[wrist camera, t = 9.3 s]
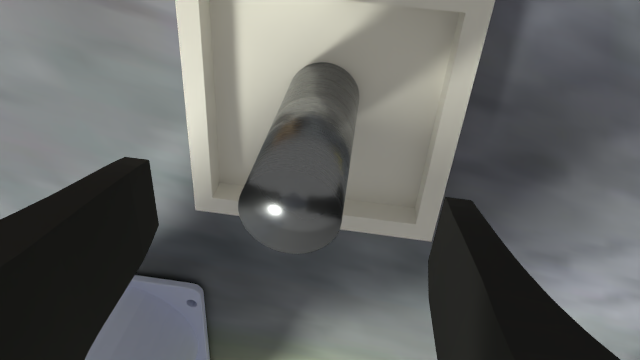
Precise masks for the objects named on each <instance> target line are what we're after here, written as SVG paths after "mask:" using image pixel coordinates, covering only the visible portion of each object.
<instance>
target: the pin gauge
mask: <svg viewBox="0 0 640 360" xmlns="http://www.w3.org/2000/svg"><path fill="white" fill-rule="evenodd" d="M358 105H359V90H358V86H357V84H356V82H355V80H354V78H353V77H352V76H351V75H350V74H349V73H348V72H347V71H346V70H345V69H343V68H342V67H340V66H338V65H335V64H332V63H327V62H318V63H313V64H309V65H307V66H305V67H304V68H302V69H301V70H299V71H298V72H297V73H296V75H295V76H294V77H293V79H292V81H291V83H290V86H289V88H288V90H287V92H286V94H285V97H284V99H283V101H282V103H281V105H280V108H279V110H278V112H277V114H276V117H275V119H274V121H273V123H272V125H271V128H270V130H269V132H268V134H267V137H266V139H265V141H264V143H263V145H262V148H261V150H260V152H259V154H258V157H257V159H256V161H255V163H254V165H253V168H252V170H251V172H250V174H249V176H248V179H247V181H246V183H245V185H244V188H243V190H242V192H241V194H240V197H239V201H238V212H239V216H240V219H241V222H242V223H243V225H244V227H245V228H246V230H247V231H248V232H249V233H250V235H251V236H252V237H254V238H255V239H256V240H257V241H259V242H260V243H261V244H263V245H265V246H267V247H269V248H271V249H273V250H276V251H280V252H284V253H291V254H303V253H309V252H313V251H316V250H319V249H321V248H323V247H325V246H326V245H328V244H329V243H330V242H331V241H332V240H333V239H334V238H335V237H336V235H337V234H338V232H339V230H340V227H341V223H342V216H343V209H344V202H345V196H346V189H347V182H348V175H349V168H350V161H351V154H352V147H353V140H354V133H355V126H356V119H357V112H358Z"/></svg>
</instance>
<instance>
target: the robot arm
mask: <svg viewBox="0 0 640 360" xmlns="http://www.w3.org/2000/svg"><path fill="white" fill-rule="evenodd" d="M158 226H159V223H158V217H157V210H156V203H155V197H154V190H153V183H152V176H151V170H150V163H149V160H145V159H137V158H129V157H124V158H122V159H119V160H117V161H115V162H113V163H111V164H109V165H107V166H105V167H103V168H101V169H99V170H97V171H96V172H94V173H92V174H90V175H88V176H86V177H84V178H83V179H81V180H79V181H77V182H75V183H73V184H71V185H69V186H68V187H66V188H64V189H62V190H60V191H58V192H56V193H54V194H52V195H50V196H49V197H46V198H44V199H42V200H40V201H38V202H36V203H34V204H32V205H30V206H28V207H26V208H24V209H22V210H20V211H18V212H16V213H13V214H11V215H9V216H7V217H5V218H3V219H0V360H210V354H209V344H208V333H207V323H206V312H205V302H204V292H203V289H202V288H201V287H200V286H199V285H197V284H194V283H188V282H181V281H174V280H167V279H160V278H153V277H146V276H139V275H135V274H136V272H137V270H138V269H139V267H140V265H141V264H142V262H143V260H144V258H145V256H146V254H147V252H148V249H149V247H150V245H151V243H152V240H153V238H154V235H155V233H156V231H157V228H158ZM428 286H429V304H430V311H431V318H432V325H433V332H434V339H435V346H436V352H437V359H438V360H620V359H619V358H618V357H616V356H615V355H614V354H613V353H612V352H610V351H609V350H608V349H607V348H605V347H604V346H603V345H602V344H601V343H599V342H598V341H597V340H596V339H595V338H593V337H592V336H591V335H590V334H589V333H588V332H587V331H585V330H584V329H583V328H582V327H581V326H580V325H579V324H578V323H577V322H576V321H575V320H573V319H572V318H571V317H570V316H569V315H568V314H567V313H566V312H565V311H564V310H563V309H562V308H561V307H560V306H559V305H558V304H557V303H556V302H555V301H554V300H553V299H552V298H551V297H550V296H549V295H548V294H547V293H546V292H545V291H544V290H543V289H542V288H541V287H540V286H539V284H538V283H537V282H536V281H535V280H534V279H533V278H532V277H531V276H530V275H529V274H528V272H527V271H526V270H525V269H524V268H523V267H522V265H521V264H520V263H519V262H518V261H517V259H516V258H515V257H514V256H513V255H512V253H511V252H510V251H509V250H508V248H507V247H506V246H505V245H504V243H503V242H502V241H501V239H500V238H499V237H498V235H497V234H496V233H495V231H494V230H493V229H492V227H491V226H490V225H489V223H488V222H487V221H486V219H485V218H484V217H483V215H482V214H481V213H480V211H479V210H478V209H477V207H476V206H475V204H474V203H473V202H472V201H471V200H464V199H456V198H448V197H445V200H444V204H443V207H442V211H441V215H440V219H439V222H438V226H437V230H436V234H435V237H434V241H433V245H432V249H431V253H430V256H429V260H428Z"/></svg>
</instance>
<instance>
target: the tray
mask: <svg viewBox="0 0 640 360" xmlns="http://www.w3.org/2000/svg"><path fill="white" fill-rule="evenodd" d="M175 3H176V13H177V24H178V34H179V44H180V55H181V65H182V76H183V86H184V96H185V107H186V117H187V127H188V138H189V148H190V159H191V169H192V179H193V190H194V200H195V210H198V211H206V212H213V213H221V214H228V215H236V216H239V212H238V201H239V197H240V194H241V192H242V190H243V188H244V185H245V183H246V181H247V179H248V176H249V174H250V172H251V170H252V168H253V165H254V163H255V161H256V159H257V157H258V154H259V152H260V150H261V148H262V145H263V143H264V141H265V139H266V137H267V134H268V132H269V130H270V128H271V125H272V123H273V121H274V119H275V117H276V114H277V112H278V110H279V108H280V105H281V103H282V101H283V99H284V97H285V94H286V92H287V90H288V88H289V86H290V83H291V81H292V79H293V77H294V76H295V75H296V73H297V72H298V71H299V70H301V69H302V68H304V67H305V66H307V65H309V64H313V63H318V62H327V63H332V64H335V65H338V66H340V67H342V68H343V69H345V70H346V71H347V72H348V73H349V74H350V75H351V76H352V77H353V78H354V80H355V82H356V84H357V86H358V90H359V105H358V112H357V119H356V126H355V133H354V140H353V147H352V154H351V161H350V168H349V175H348V182H347V189H346V196H345V202H344V209H343V216H342V223H341V227H340V229H341V230H348V231H355V232H363V233H370V234H378V235H385V236H393V237H400V238H408V239H415V240H423V241H430V242H432V238H433V234H434V230H435V226H436V223H437V219H438V215H439V211H440V208H441V204H442V200H443V196H444V192H445V189H446V185H447V181H448V177H449V174H450V170H451V166H452V162H453V158H454V155H455V151H456V147H457V143H458V139H459V136H460V132H461V128H462V124H463V121H464V117H465V113H466V109H467V105H468V102H469V98H470V94H471V90H472V87H473V83H474V79H475V75H476V71H477V68H478V64H479V60H480V56H481V53H482V49H483V45H484V41H485V37H486V34H487V30H488V26H489V22H490V19H491V15H492V11H493V7H494V3H495V0H175Z"/></svg>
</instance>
